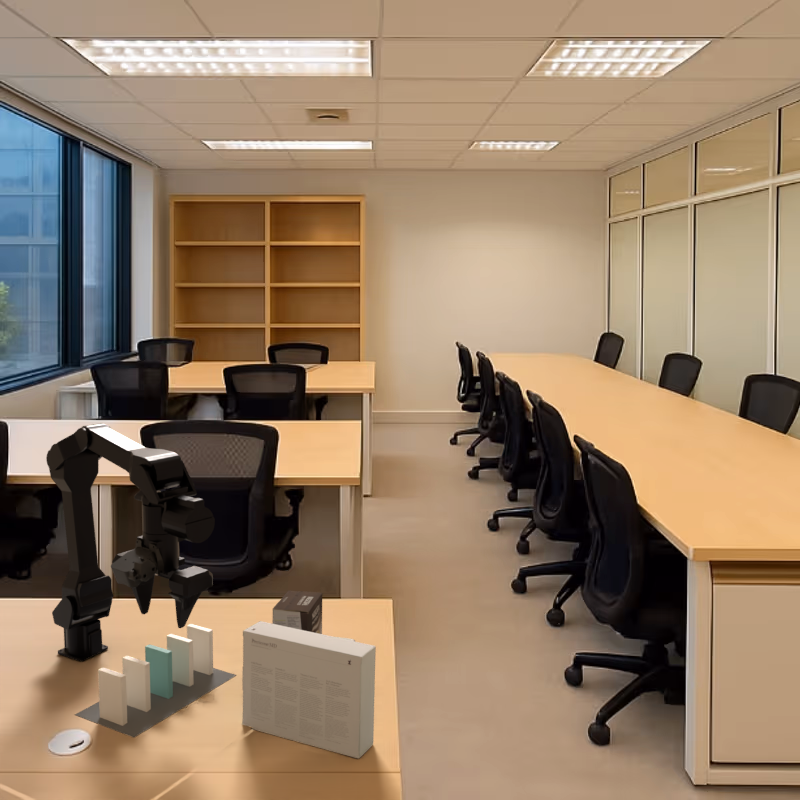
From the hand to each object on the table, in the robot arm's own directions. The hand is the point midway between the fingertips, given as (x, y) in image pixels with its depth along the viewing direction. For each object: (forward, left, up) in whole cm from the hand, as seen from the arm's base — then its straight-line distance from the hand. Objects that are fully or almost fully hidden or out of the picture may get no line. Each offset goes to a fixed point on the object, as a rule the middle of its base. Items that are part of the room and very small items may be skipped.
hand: (162, 620), depth 147 cm
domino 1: (0, -11, -13) cm, 17 cm away
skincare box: (+28, +2, -13) cm, 31 cm away
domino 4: (0, +9, -13) cm, 15 cm away
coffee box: (+18, +13, -13) cm, 26 cm away
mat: (0, -1, -13) cm, 13 cm away
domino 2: (0, -6, -13) cm, 14 cm away
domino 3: (0, +4, -13) cm, 13 cm away
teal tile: (0, -1, -13) cm, 13 cm away
